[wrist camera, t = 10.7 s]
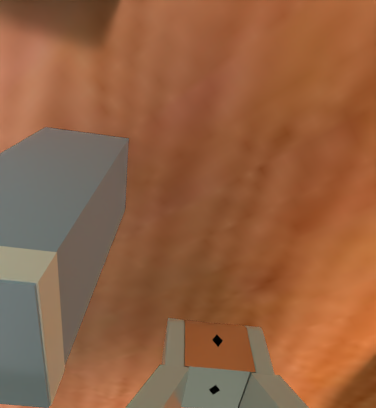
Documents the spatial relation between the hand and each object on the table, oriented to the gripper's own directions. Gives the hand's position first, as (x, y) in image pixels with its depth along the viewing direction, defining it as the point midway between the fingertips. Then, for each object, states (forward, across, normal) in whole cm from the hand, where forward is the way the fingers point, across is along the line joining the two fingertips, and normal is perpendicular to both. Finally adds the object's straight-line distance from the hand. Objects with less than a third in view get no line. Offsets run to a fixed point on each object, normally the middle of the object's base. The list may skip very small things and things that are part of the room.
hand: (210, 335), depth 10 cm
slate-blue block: (+12, +7, 0) cm, 14 cm away
